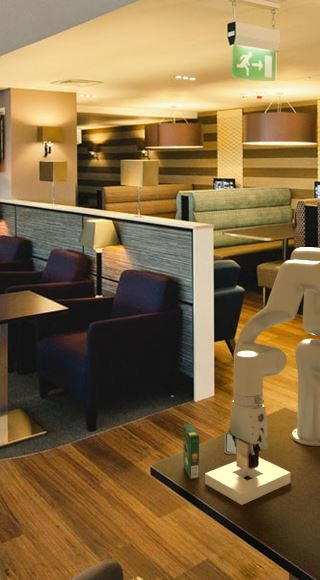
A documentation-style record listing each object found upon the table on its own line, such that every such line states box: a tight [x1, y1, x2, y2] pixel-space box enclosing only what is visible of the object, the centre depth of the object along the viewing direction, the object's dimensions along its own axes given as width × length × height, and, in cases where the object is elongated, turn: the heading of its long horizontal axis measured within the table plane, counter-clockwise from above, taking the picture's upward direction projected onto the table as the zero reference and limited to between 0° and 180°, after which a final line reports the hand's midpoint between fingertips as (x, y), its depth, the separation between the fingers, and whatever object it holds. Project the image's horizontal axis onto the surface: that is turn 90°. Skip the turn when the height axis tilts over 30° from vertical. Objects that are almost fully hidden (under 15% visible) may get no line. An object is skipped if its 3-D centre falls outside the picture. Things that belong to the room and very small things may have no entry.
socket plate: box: [204, 457, 291, 506], centre depth 168 cm, size 18×14×3 cm
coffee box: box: [182, 423, 200, 480], centre depth 173 cm, size 8×3×13 cm, turn 11°
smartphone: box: [224, 432, 237, 455], centre depth 192 cm, size 7×1×15 cm
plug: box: [235, 438, 258, 471], centre depth 166 cm, size 4×4×8 cm
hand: (247, 463), depth 167 cm, fingers closed on plug, 4 cm apart
